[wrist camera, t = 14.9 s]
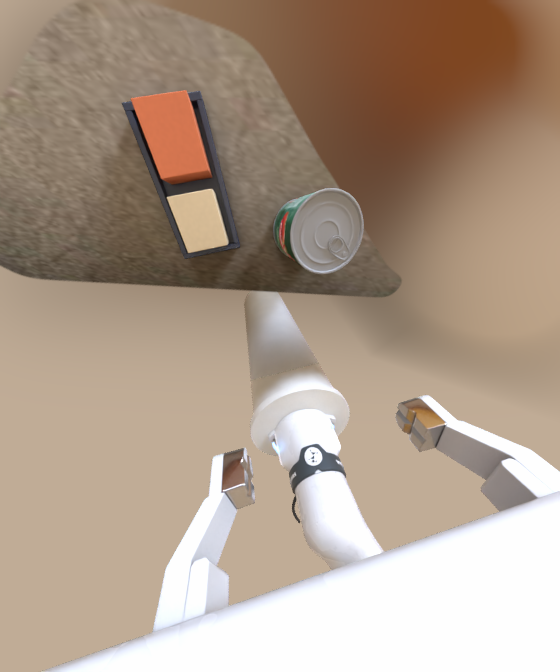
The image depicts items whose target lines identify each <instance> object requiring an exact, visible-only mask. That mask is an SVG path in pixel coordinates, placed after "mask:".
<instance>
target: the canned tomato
mask: <svg viewBox="0 0 560 672" xmlns="http://www.w3.org/2000/svg"><path fill="white" fill-rule="evenodd" d="M273 232H274V239H275V242H276V244H277V246H278V248H279V249H280V250H281V251H282V252H283V253H284V254H285V255H287V256H288V257H290V258H291V259H292V260H294V261H295V262H297V263H298V264H299V265H301V266H302V267H303V268H305V269H306V270H308V271H310V272H312V273H316V274H329V273H332V272H335V271H337V270H339V269H341V268H342V267H344V266H345V265H346V264H347V263H348V262H349V261H350V260H351V259H352V258H353V256H354V255H355V254H356V252H357V250H358V248H359V246H360V243H361V240H362V236H363V216H362V212H361V209H360V207H359V205H358V203H357V202H356V200H355V199H354V198H353V197H352V196H351V195H350V194H349V193H347V192H345V191H343V190H340V189H336V188H326V189H323V190H319V191H317V192H315V193H312V194H309V195H306V196H303V197H300V198H298V199H294V200H291V201H289V202H288V203H286V204H285V205H284V206H283V207H282V208H281V209H280V210H279V212H278V214H277V216H276V218H275V222H274V228H273Z"/></svg>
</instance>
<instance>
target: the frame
mask: <svg viewBox="0 0 560 672" xmlns="http://www.w3.org/2000/svg"><path fill="white" fill-rule="evenodd" d="M187 94H188V96H189V99H190V101H191V104H192V106H193V109H194V112H195V115H196V119H197V123H198V126H199V130H200V134H201V137H202V141H203V145H204V148H205V152H206V156H207V159H208V163H209V166H210V170H211V174H212V178H206V179H201V180H195V181H190V182H184V183H179V184H173V185H172V184H170V183H168V182H166V181H164V180H163V179H161V177H160V174H159V172H158V169H157V167H156V164H155V161H154V159H153V156H152V154H151V151H150V148H149V146H148V143H147V140H146V138H145V135H144V133H143V130H142V127H141V125H140V122H139V120H138V117H137V114H136V112H135V109H134V106H133V104H132V101H130V102H124V103H122V105H123V107H124V110H125V111H126V115H127V117H128V120H129V122H130V125H131V127H132V130H133V132H134V135H135V137H136V140H137V142H138V145H139V147H140V150H141V152H142V155H143V157H144V160H145V162H146V164H147V167H148V169H149V172H150V174H151V177H152V179H153V182H154V184H155V187H156V189H157V192H158V194H159V197H160V199H161V202H162V204H163V207H164V209H165V212H166V214H167V217H168V219H169V222H170V224H171V227H172V229H173V232H174V234H175V237H176V239H177V241H178V244H179V246H180V249H181V251H182V254H183V256H184V259H187V258H191V257H196V256H201V255H206V254H210V253H215V252H220V251H225V250H229V249H234V248H239V247H240V244H239V240H238V236H237V232H236V228H235V225H234V221H233V217H232V213H231V209H230V205H229V201H228V197H227V193H226V189H225V185H224V181H223V177H222V173H221V170H220V166H219V162H218V158H217V154H216V150H215V146H214V142H213V138H212V134H211V130H210V126H209V122H208V118H207V115H206V111H205V107H204V103H203V99H202V96H201V92H200V91H196V92H190V93H187ZM207 189H213V191H214V192H215V193H216V197H217V200H218V204H219V208H220V211H221V215H222V218H223V222H224V226H225V229H226V233H227V236H228V240H229V243H228V245H225V246H221V247H216V248H211V249H206V250H201V251H197V252H192V253H188V251H187V249H186V246H185V243H184V241H183V238H182V236H181V233H180V231H179V228H178V225H177V223H176V220H175V218H174V215H173V213H172V210H171V207H170V205H169V202H168V200H167V197H170V196H175V195H180V194H186V193H191V192H196V191H202V190H207Z"/></svg>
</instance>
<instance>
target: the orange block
mask: <svg viewBox="0 0 560 672" xmlns="http://www.w3.org/2000/svg"><path fill="white" fill-rule="evenodd" d="M131 101H132V104H133V106H134V109H135V112H136V114H137V117H138V120H139V122H140V125H141V127H142V130H143V133H144V135H145V138H146V140H147V143H148V146H149V148H150V151H151V154H152V156H153V159H154V161H155V164H156V167H157V169H158V172H159V174H160V177H161V179H163V180H164V181H166V182H168V183H170V184H172V185H173V184H179V183H184V182H190V181H195V180H201V179H206V178H212V174H211V170H210V166H209V163H208V159H207V156H206V152H205V148H204V145H203V141H202V137H201V134H200V130H199V126H198V123H197V119H196V115H195V112H194V109H193V106H192V104H191V101H190V99H189V96H188V94H187V91H186V90H184V91H178V92H171V93H164V94H157V95H151V96H144V97H137V98H131Z"/></svg>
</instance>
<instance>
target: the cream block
mask: <svg viewBox="0 0 560 672" xmlns="http://www.w3.org/2000/svg"><path fill="white" fill-rule="evenodd" d="M167 200H168V202H169V205H170V207H171V210H172V213H173V215H174V218H175V220H176V223H177V225H178V228H179V231H180V233H181V236H182V238H183V241H184V243H185V246H186V249H187V251H188V253H192V252H197V251H201V250H206V249H211V248H216V247H221V246H225V245H228V243H229V240H228V236H227V233H226V229H225V226H224V222H223V218H222V215H221V211H220V208H219V204H218V200H217V197H216V193H215V192H214V191H213V189H207V190H202V191H196V192H191V193H186V194H180V195H175V196H170V197H167Z"/></svg>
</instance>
